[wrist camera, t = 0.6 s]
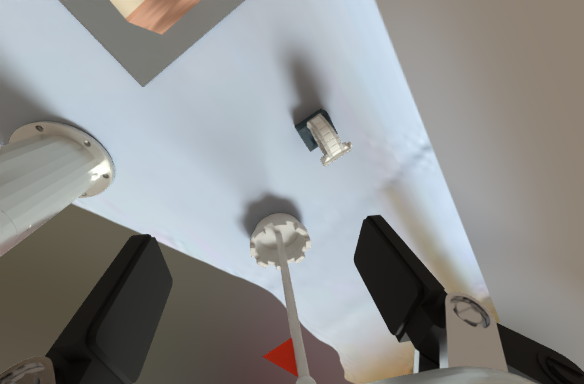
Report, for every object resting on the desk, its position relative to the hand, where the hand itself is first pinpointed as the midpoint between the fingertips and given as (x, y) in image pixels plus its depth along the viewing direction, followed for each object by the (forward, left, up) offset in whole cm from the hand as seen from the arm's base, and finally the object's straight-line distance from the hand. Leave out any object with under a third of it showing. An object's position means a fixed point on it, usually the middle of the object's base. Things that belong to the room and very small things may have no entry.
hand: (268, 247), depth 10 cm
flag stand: (-11, -24, -30) cm, 40 cm away
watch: (+8, -8, -30) cm, 32 cm away
